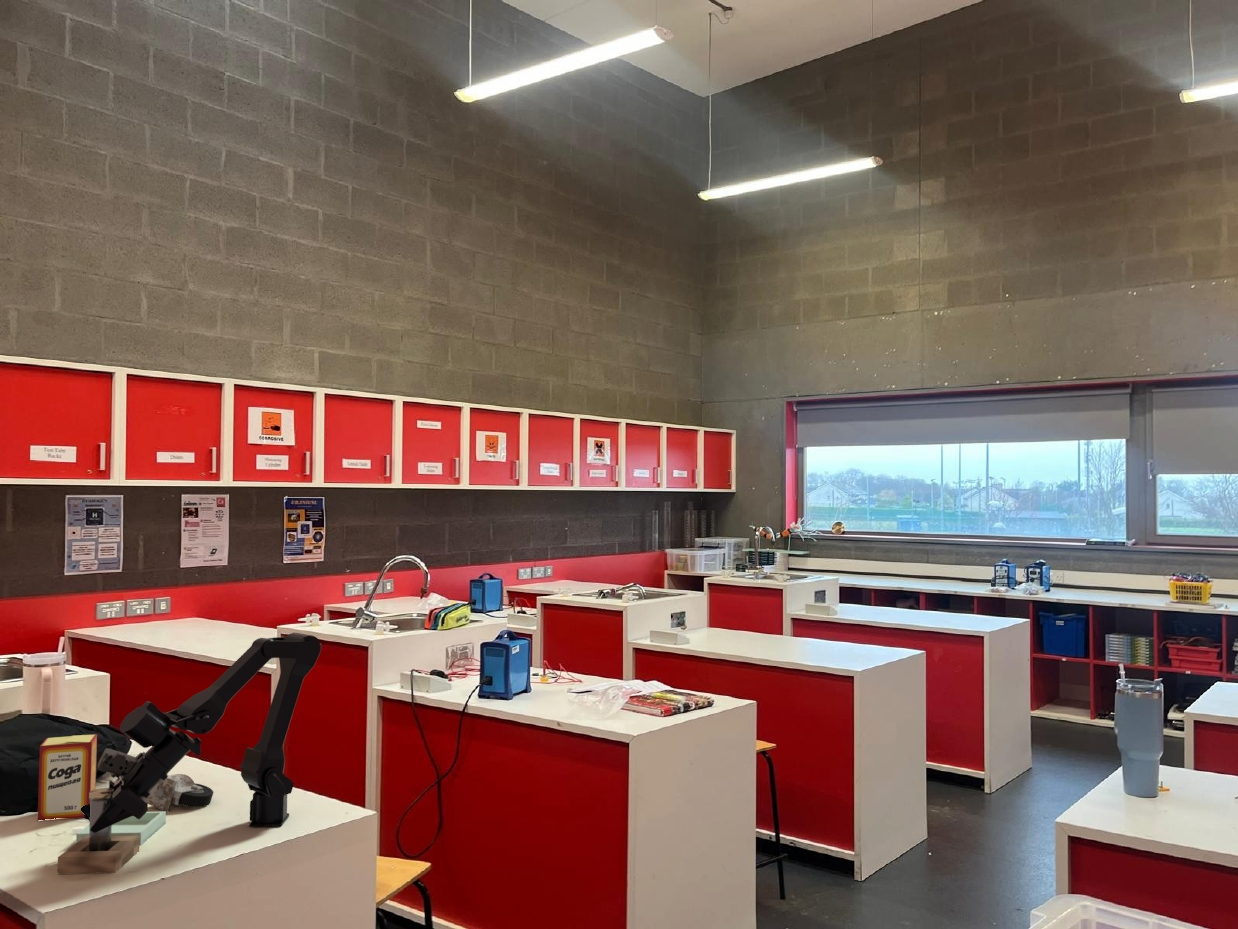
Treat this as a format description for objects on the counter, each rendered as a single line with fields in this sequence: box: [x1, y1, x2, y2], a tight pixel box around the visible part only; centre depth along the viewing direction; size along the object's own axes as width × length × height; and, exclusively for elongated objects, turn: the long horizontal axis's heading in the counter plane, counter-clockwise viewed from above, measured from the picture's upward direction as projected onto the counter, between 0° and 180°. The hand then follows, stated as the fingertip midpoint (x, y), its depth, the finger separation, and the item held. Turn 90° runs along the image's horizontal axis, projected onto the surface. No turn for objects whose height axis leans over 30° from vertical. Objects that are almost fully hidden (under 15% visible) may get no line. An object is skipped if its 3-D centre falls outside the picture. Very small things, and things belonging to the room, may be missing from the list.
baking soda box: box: [37, 734, 98, 821], centre depth 197 cm, size 10×6×16 cm
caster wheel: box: [147, 773, 214, 813], centre depth 203 cm, size 7×11×10 cm
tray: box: [75, 810, 167, 846], centre depth 185 cm, size 12×12×2 cm
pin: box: [89, 787, 114, 851], centre depth 172 cm, size 4×4×13 cm
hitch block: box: [56, 836, 140, 875], centre depth 172 cm, size 10×10×3 cm
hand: (91, 828), depth 171 cm, fingers closed on pin, 4 cm apart
